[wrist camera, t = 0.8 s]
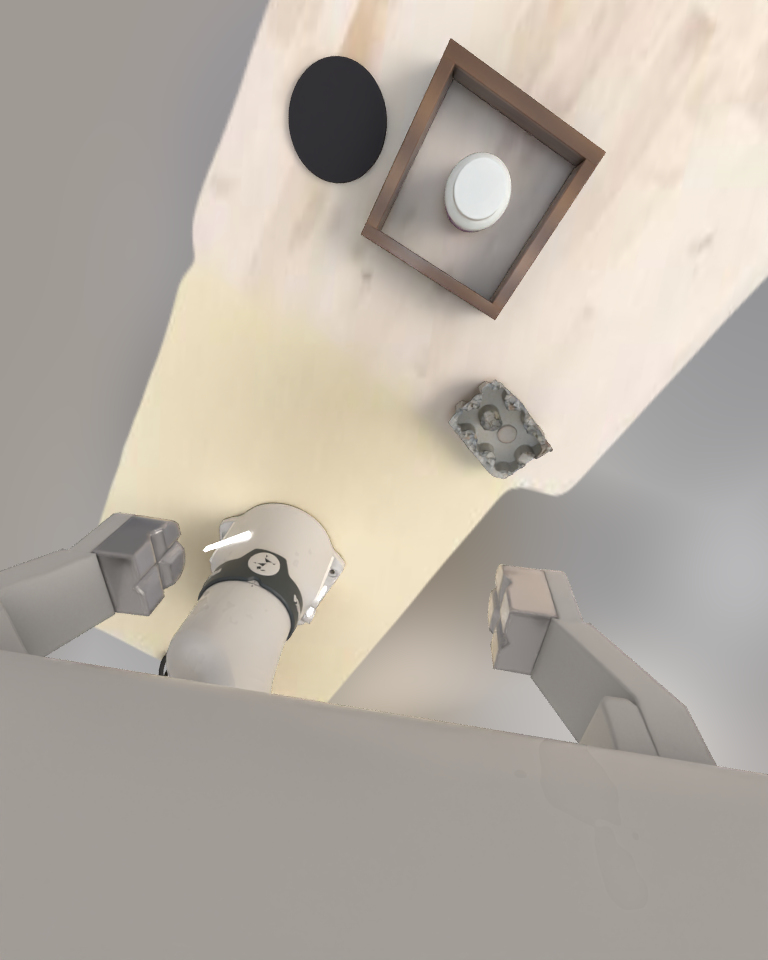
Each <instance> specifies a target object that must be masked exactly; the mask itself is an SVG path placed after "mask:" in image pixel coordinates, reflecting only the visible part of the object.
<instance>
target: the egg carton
mask: <svg viewBox="0 0 768 960" xmlns="http://www.w3.org/2000/svg"><path fill="white" fill-rule="evenodd" d="M478 388H479V391H480V394H477V395H475V396H474V397H473V398H472V400H471V401H469V402H468V403H466V402H464V401H460V402H459V403H458V404H457V405H456V406H455V407H456V413H455V414H454V415H453V417H452V418H451V419H450V421H449V424H450V426H451V427H452V428H453V430H454V431H455V432H456V433H457V434H458V435H459V437H460V438H461V440H462V441H464V443H465V444H466V446H467V447H468V449H469V450H470V451H471V452H472V453H473V454H474V455H475V457H476V458H477V459H478V460H479V461H480V463H481V464H482V465H483V466H484V468H485V469H486V470H487V471H488V472H489V473H490V474H491V475H492V476H494V477H497V478H502V479H505V478H507V477H508V476H510V475H512V474H513V473H514V472H516V471H517V470H519V469H520V468H523V467H524V466H525V464H526V463H528V462H529V461H531V460H532V459H533V458H535V459H537V458H540V457H541V456H543V455H544V454H546V453H547V452H549V451H550V452H551V451H552V450H553V449H552V447H551V445H550V444H549V443H548V442H547V440H546V439H545V437H544V432H543V431H542V429H541V428H540V427H539V425H537V424H536V423H535V422H534V420H533V419H532V418H531V416H530V415H529V413H528V411H527V410H526V408H525V407H524V405H523V404H522V403H521V402H520V401H519V400H518V399H517V398H516V397H515V396H514V395H513V394H512V393H511V392H510V391H509V390H508V389H506V388H505V387H504V385H503V384H502V383H501V382H497V381H496V380H494V381H493V382H492V383H489V382H486V381H484V382H483V383H482V384H481V385H479V386H478Z"/></svg>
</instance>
